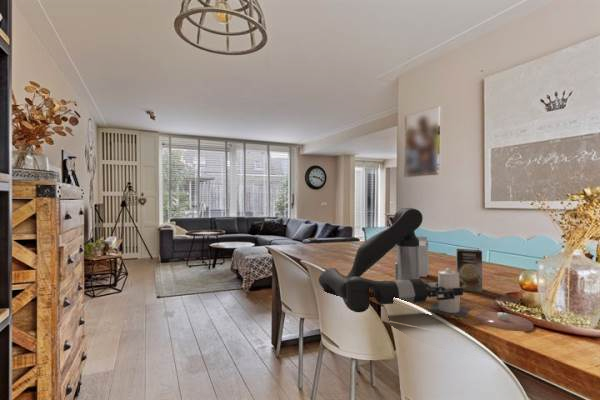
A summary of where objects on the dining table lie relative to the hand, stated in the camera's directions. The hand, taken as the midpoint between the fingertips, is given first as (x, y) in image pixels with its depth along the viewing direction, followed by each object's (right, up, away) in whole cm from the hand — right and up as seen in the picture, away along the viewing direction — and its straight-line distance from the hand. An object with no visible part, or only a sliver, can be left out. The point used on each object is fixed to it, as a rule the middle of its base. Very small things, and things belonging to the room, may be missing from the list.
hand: (455, 288), depth 103 cm
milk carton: (+8, -8, +53) cm, 54 cm away
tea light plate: (+9, -7, -11) cm, 16 cm away
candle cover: (-2, -7, 0) cm, 7 cm away
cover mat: (-2, -7, 0) cm, 7 cm away
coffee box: (+18, -8, +25) cm, 32 cm away
